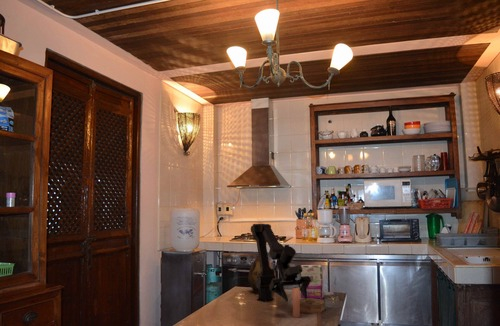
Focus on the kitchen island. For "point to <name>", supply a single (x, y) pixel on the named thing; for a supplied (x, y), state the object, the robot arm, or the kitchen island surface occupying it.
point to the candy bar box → (313, 281)
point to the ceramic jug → (256, 273)
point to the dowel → (296, 302)
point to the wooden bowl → (312, 305)
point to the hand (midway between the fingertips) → (296, 299)
